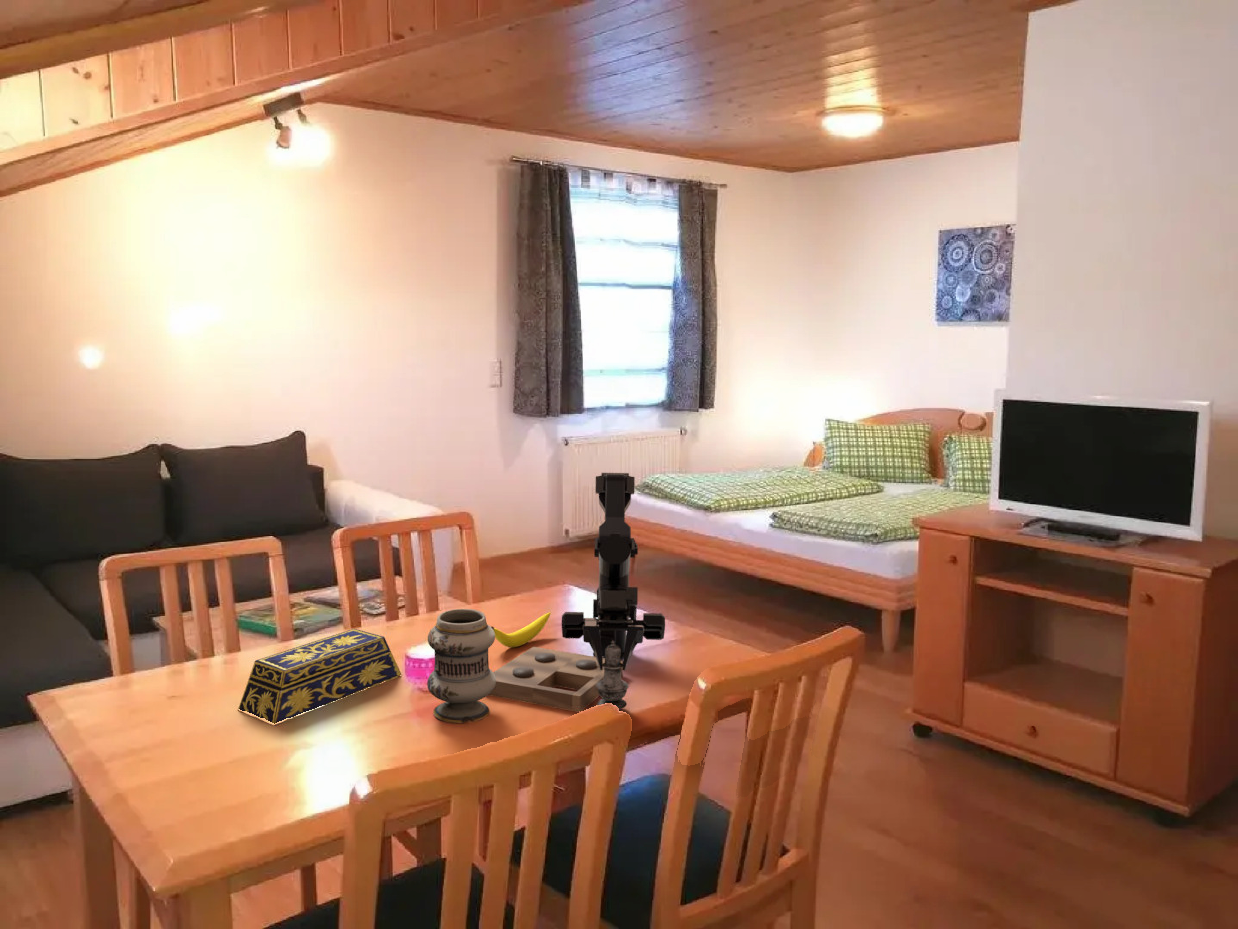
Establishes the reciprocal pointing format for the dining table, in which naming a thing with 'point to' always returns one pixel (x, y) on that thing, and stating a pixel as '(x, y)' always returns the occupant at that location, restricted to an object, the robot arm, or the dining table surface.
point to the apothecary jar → (461, 665)
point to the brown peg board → (550, 679)
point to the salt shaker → (612, 678)
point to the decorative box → (317, 674)
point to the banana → (521, 633)
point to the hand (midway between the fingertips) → (612, 669)
